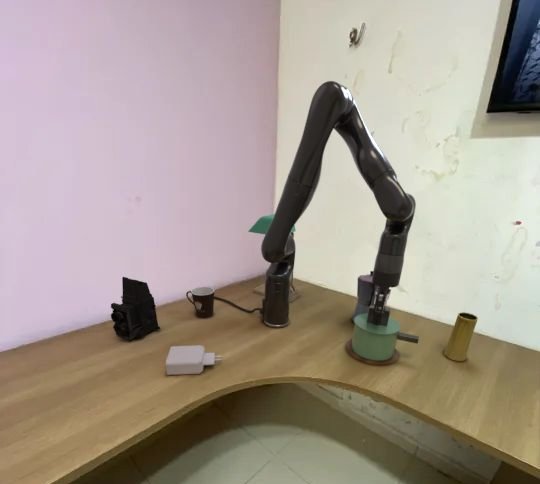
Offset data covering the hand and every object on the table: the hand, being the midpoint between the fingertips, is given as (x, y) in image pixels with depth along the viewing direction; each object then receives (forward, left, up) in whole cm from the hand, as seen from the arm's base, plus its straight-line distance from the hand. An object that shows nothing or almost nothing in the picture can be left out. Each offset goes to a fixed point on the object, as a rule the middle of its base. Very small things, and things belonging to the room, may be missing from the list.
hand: (377, 318), depth 95 cm
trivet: (0, 0, -12) cm, 12 cm away
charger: (-41, -37, -12) cm, 57 cm away
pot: (+3, 0, -11) cm, 11 cm away
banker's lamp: (-51, +24, -12) cm, 58 cm away
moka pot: (-8, +19, -12) cm, 24 cm away
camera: (-71, -35, -12) cm, 80 cm away
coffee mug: (-64, -10, -12) cm, 66 cm away
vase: (+23, +12, -12) cm, 29 cm away
